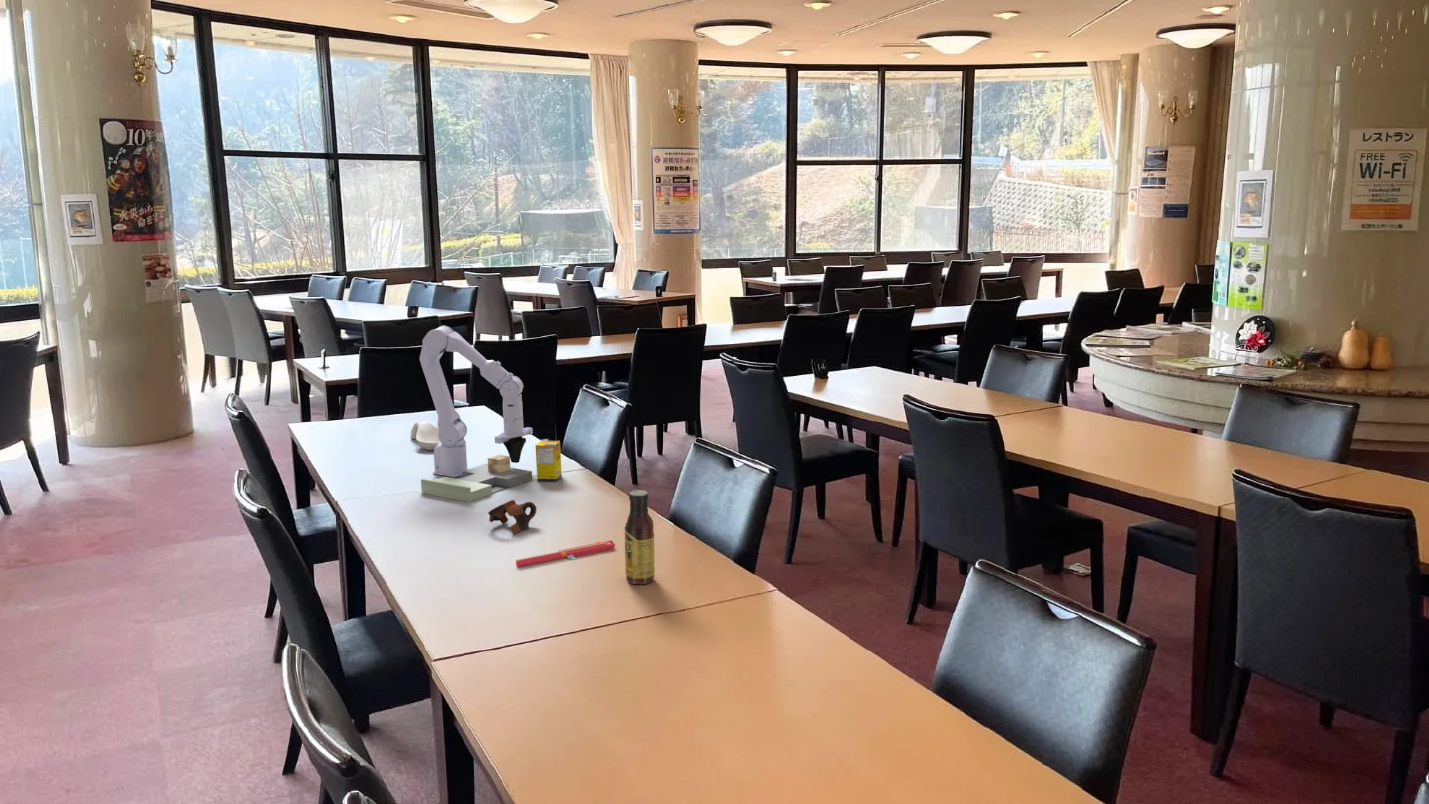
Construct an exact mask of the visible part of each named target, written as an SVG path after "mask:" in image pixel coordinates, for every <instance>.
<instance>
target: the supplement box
mask: <svg viewBox="0 0 1429 804" xmlns="http://www.w3.org/2000/svg"><path fill="white" fill-rule="evenodd" d="M561 454H562V453H561V441H560V440H541V441H539V442H537V444H536V445H535V460H536V461H535V462H536V477H537V478H536V480H537V482H558V481H559V480H560V478H562V475H563V474H562V455H561Z"/></svg>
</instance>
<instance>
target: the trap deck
mask: <svg viewBox="0 0 1429 804" xmlns="http://www.w3.org/2000/svg"><path fill="white" fill-rule="evenodd" d="M467 469H468V470H465V471H462V475H461V476H462V477H461V478H455V477H450V476H444V477H440V478H436V479H434V480H433V479H427V478H421V479H420V486H421V494H425V493H426V495H430V494H431V496H437V497H441V498H446V499H451V500H456V501H462V502H465V503H466V502H467V503H470V502H472V501H476V500H478V499H479V500H480V499H482V498H484V497H487V496H490V495H492V494H495V493H498V492H500V491H504V490H506V489H509V488H512V487H515V486H518V485H520V484H523V482H524V483H527V482H529V481H532V480H533V471H532V470H527V469H523V468H522V469H520V468H515V467H510V470H508V471H505V472H502V473H496V472H490V471H488V463H484V464H481V465H478V466H474V467H471V468H467Z"/></svg>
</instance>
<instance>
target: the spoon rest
mask: <svg viewBox="0 0 1429 804" xmlns="http://www.w3.org/2000/svg"><path fill="white" fill-rule="evenodd" d="M438 433H439V428H438V426H436V425H434V424H433V423H430V421H425V420H424V421H422V422H418V421H417V422H416V421H415V422H414V424H413V426H412V428H411V430H410V439H411V440H416V443H417V444H418V445H419V446H420V447H421V448H423V449H425V450H427V451H434V449H435V447H436V446H437V445H438V444H439V443H441V442H440V440H439V438H438Z"/></svg>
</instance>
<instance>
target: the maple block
mask: <svg viewBox="0 0 1429 804" xmlns="http://www.w3.org/2000/svg"><path fill="white" fill-rule="evenodd" d="M487 464H488V471H490V472H496V473H502V472H505V471H508V470H510V468H511V459H510V456H509V455H503V454H496V455H493V456H489V457H487Z"/></svg>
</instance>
